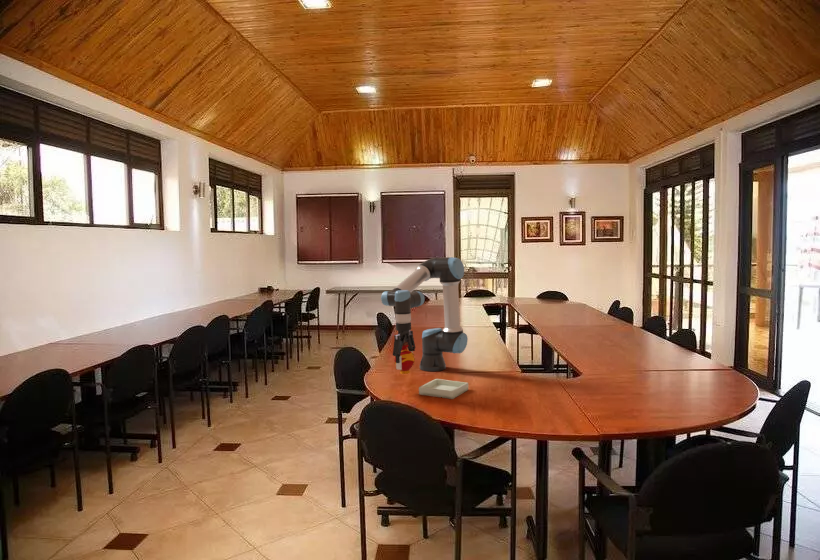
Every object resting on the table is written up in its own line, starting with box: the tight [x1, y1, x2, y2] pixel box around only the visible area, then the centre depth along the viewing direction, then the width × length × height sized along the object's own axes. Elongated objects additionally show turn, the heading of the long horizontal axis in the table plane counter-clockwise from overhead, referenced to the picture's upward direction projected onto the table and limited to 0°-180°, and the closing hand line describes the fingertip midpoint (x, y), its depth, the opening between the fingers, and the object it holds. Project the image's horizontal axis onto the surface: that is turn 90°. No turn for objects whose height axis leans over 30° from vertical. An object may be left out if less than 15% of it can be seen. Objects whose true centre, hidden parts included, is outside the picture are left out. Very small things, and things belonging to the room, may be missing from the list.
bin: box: [418, 378, 469, 400], centre depth 263 cm, size 18×18×4 cm
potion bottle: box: [394, 342, 416, 375], centre depth 263 cm, size 10×10×15 cm
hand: (404, 366), depth 264 cm, fingers closed on potion bottle, 10 cm apart
